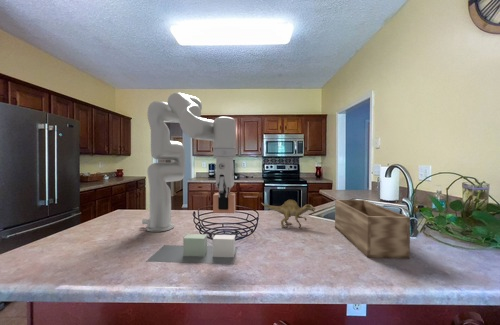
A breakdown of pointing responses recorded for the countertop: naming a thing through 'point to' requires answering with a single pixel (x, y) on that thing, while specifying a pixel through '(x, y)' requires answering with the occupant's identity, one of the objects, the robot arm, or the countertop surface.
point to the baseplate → (176, 255)
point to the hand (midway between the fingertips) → (224, 207)
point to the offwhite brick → (224, 246)
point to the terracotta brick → (230, 203)
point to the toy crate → (373, 229)
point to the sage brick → (195, 245)
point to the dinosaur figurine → (290, 211)
